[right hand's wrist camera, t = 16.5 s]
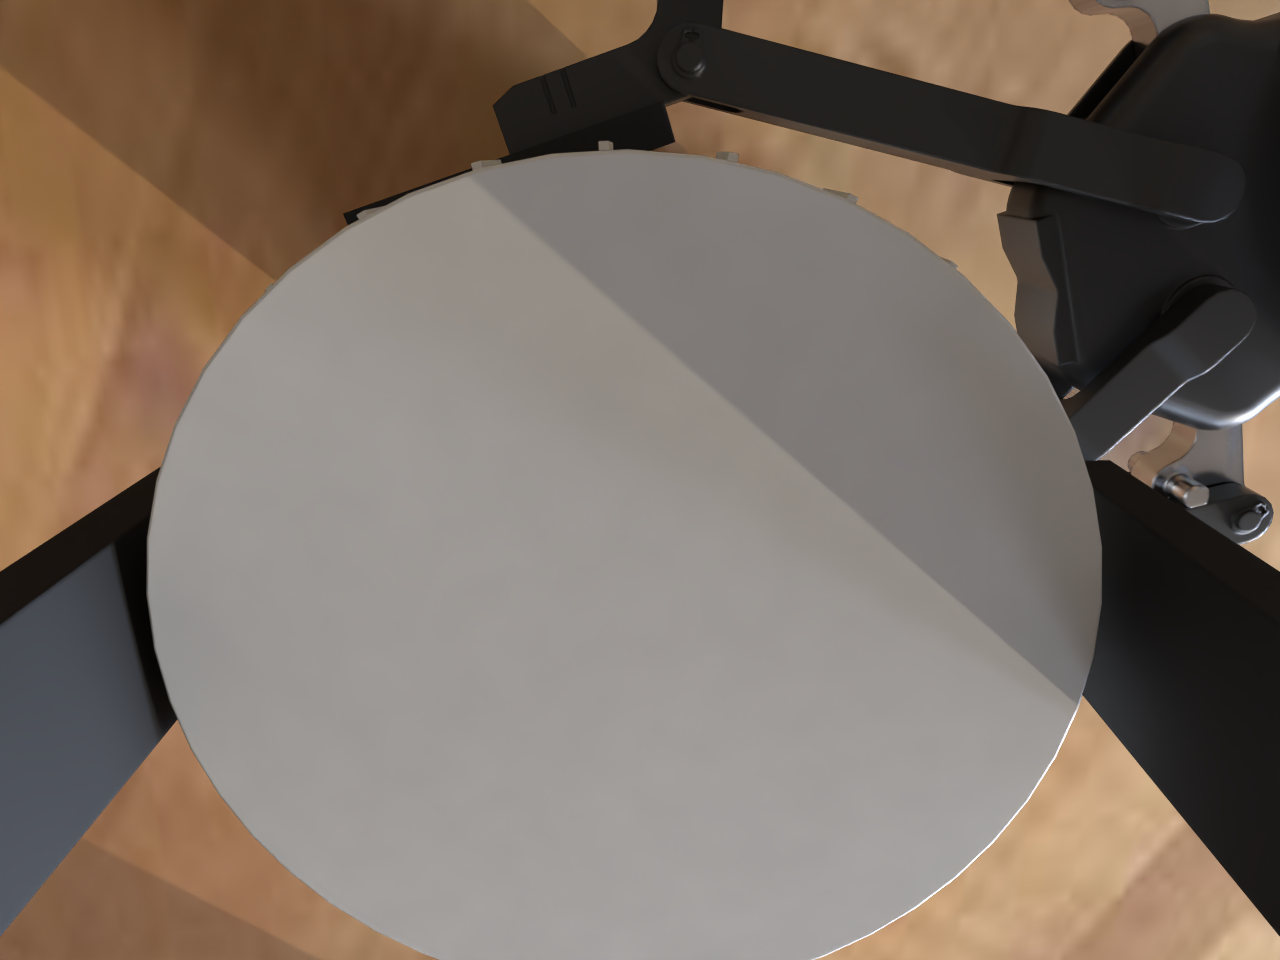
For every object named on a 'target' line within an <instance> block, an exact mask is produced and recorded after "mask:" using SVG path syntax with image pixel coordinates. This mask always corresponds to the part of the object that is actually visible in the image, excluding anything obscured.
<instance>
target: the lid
mask: <svg viewBox="0 0 1280 960" xmlns="http://www.w3.org/2000/svg"><path fill="white" fill-rule="evenodd" d="M598 144H599V151H590V152H573V153H556V154H548V155H543V156H538V157H533V158H528V159H523V160H519V161H514V162H509V163H504V164H502V163H501V160H483V161H477V162H473V163H471V166H472V169H473V171H470V172H467V173H465V174H462V175H459V176H456V177H453V178H451V179H448V180H445V181H442V182H439V183H437V184H434V185H431V186H428V187H425V188H423V189H420V190H417V191H414V192H411V193H409V194H407V195H405V196H403V197H401V198H399V199H397V200H395V201H393V202H392V203H390V204H388V205H386V206H382V207H378V208H373V209H368V210H364V211H362V212H361V213H359V214H357V217H358V219H359V220H358V221H356V222H354V223H352V224H350V225H348V226H346V227H345V228H343V229H342V230H341V231H339V232H338V233H336V234H335V235H334V236H332V237H331V238H330V239H328V240H327V241H326V242H324V243H323V244H321V245H320V246H319V247H317V248H316V249H315V250H313V251H312V252H311V253H309V254H308V255H307V256H305V257H304V258H302V259H301V260H300V261H298V262H297V263H296V264H294V265H293V266H292V267H290V268H289V269H288V270H287V271H286V272H285V273H284V274H283V275H282V276H281V277H280V278H279V279H278V280H277V281H276V282H275V283H272V284H270V285H269V286H268V287H267V288H266V289H265V291H266V292H265V293H264V294H263V295H262V296H261V297H260V298H259V299H258V300H257V301H256V302H255V303H254V304H253V305H252V306H251V307H250V308H249V309H248V310H247V311H246V312H245V313H244V314H243V315H242V316H241V317H240V319H239V320H238V322H237V323H236V324H235V326H234V327H233V328H232V330H231V331H230V333H229V334H228V335H227V337H226V338H225V339H224V341H223V342H222V343H221V345H220V346H219V348H218V349H217V350H216V352H215V353H214V354H213V356H212V357H211V359H210V360H209V361H208V363H207V364H206V365H205V367H204V368H203V370H202V372H201V374H200V376H199V378H198V380H197V382H196V384H195V386H194V388H193V390H192V392H191V394H190V395H189V397H188V399H187V401H186V403H185V405H184V407H183V409H182V411H181V413H180V415H179V417H178V419H177V421H176V423H175V426H174V429H173V432H172V435H171V438H170V441H169V444H168V447H167V450H166V453H165V456H164V459H163V462H162V465H161V468H160V471H159V474H158V477H157V480H156V486H155V492H154V498H153V504H152V511H151V517H150V523H149V529H148V535H147V590H146V595H147V602H148V609H149V616H150V623H151V630H152V637H153V644H154V650H155V654H156V657H157V661H158V664H159V667H160V671H161V674H162V678H163V681H164V684H165V688H166V691H167V695H168V698H169V701H170V704H171V706H172V708H173V710H174V712H175V715H176V717H177V719H178V721H179V723H180V726H181V728H182V730H183V732H184V735H185V737H186V739H187V741H188V743H189V746H190V748H191V750H192V752H193V753H194V755H195V756H196V758H197V760H198V761H199V763H200V765H201V766H202V768H203V769H204V771H205V773H206V774H207V776H208V777H209V779H210V781H211V782H212V784H213V785H214V787H215V789H216V790H217V792H218V793H219V795H220V796H221V798H222V799H223V800H224V801H225V802H226V804H227V805H228V806H229V807H230V809H231V810H232V811H233V812H234V814H235V815H236V816H237V817H238V818H239V820H240V821H241V822H242V823H243V825H244V826H245V827H246V828H247V830H248V831H249V832H250V833H251V835H252V836H253V837H254V838H255V839H256V840H257V841H258V842H259V843H261V844H262V845H263V846H264V847H265V848H266V849H267V850H268V851H269V852H270V853H271V854H272V855H273V856H274V857H275V858H276V859H277V860H278V861H279V862H280V863H281V864H282V865H283V866H284V867H285V868H286V869H287V870H288V871H289V872H291V873H292V874H293V875H294V876H296V877H297V878H298V879H300V880H301V881H302V882H303V883H305V884H306V885H307V886H309V887H310V888H311V889H313V890H314V891H315V892H316V893H318V894H319V895H320V896H322V897H323V898H324V899H326V900H327V901H328V902H329V903H331V904H332V905H334V906H336V907H337V908H339V909H340V910H342V911H344V912H345V913H347V914H349V915H350V916H352V917H353V918H355V919H357V920H358V921H360V922H362V923H363V924H365V925H367V926H368V927H370V928H371V929H373V930H375V931H377V932H379V933H381V934H383V935H385V936H387V937H389V938H391V939H393V940H396V941H398V942H400V943H402V944H404V945H406V946H408V947H410V948H412V949H414V950H417V951H419V952H421V953H423V954H426V955H429V956H432V957H434V958H437V959H440V960H814V959H817V958H820V957H823V956H825V955H828V954H830V953H832V952H834V951H836V950H838V949H841V948H843V947H845V946H847V945H849V944H851V943H854V942H856V941H858V940H860V939H862V938H864V937H867V936H869V935H871V934H873V933H874V932H876V931H878V930H879V929H881V928H883V927H884V926H886V925H888V924H889V923H891V922H893V921H894V920H896V919H898V918H900V917H901V916H903V915H905V914H906V913H908V912H910V911H911V910H913V909H915V908H916V907H918V906H919V905H920V904H921V903H923V902H924V901H925V900H927V899H928V898H929V897H931V896H932V895H933V894H935V893H936V892H937V891H939V890H940V889H941V888H943V887H944V886H945V885H947V884H948V883H949V882H951V881H952V880H953V879H955V878H956V877H957V876H958V875H959V874H960V873H961V872H962V871H964V870H965V869H966V868H967V867H968V866H969V865H970V864H971V863H972V862H973V861H974V860H975V859H976V858H977V857H978V856H979V855H980V854H981V853H982V852H984V851H985V850H986V849H987V848H988V847H989V846H990V845H991V844H992V843H993V842H994V841H995V840H996V839H997V837H998V836H999V835H1000V834H1001V833H1002V831H1003V830H1004V829H1005V828H1006V827H1007V825H1008V824H1009V823H1010V822H1011V821H1012V819H1013V818H1014V817H1015V816H1016V814H1017V813H1018V812H1019V811H1020V810H1021V808H1022V807H1023V806H1024V805H1025V804H1026V802H1027V801H1028V800H1029V798H1030V796H1031V795H1032V793H1033V792H1034V790H1035V789H1036V787H1037V785H1038V784H1039V782H1040V781H1041V779H1042V778H1043V776H1044V774H1045V773H1046V771H1047V770H1048V768H1049V767H1050V765H1051V763H1052V762H1053V760H1054V759H1055V757H1056V755H1057V753H1058V751H1059V749H1060V746H1061V744H1062V742H1063V740H1064V738H1065V736H1066V733H1067V731H1068V729H1069V727H1070V725H1071V723H1072V720H1073V718H1074V716H1075V714H1076V712H1077V710H1078V707H1079V704H1080V700H1081V697H1082V694H1083V690H1084V687H1085V684H1086V681H1087V677H1088V674H1089V671H1090V667H1091V664H1092V661H1093V658H1094V651H1095V645H1096V638H1097V632H1098V625H1099V618H1100V612H1101V605H1102V544H1101V538H1100V531H1099V525H1098V518H1097V511H1096V505H1095V498H1094V492H1093V487H1092V484H1091V481H1090V477H1089V474H1088V471H1087V468H1086V465H1085V462H1084V458H1083V455H1082V452H1081V449H1080V446H1079V443H1078V439H1077V436H1076V433H1075V431H1074V429H1073V427H1072V425H1071V423H1070V420H1069V418H1068V416H1067V414H1066V412H1065V410H1064V408H1063V406H1062V404H1061V402H1060V400H1059V398H1058V396H1057V394H1056V392H1055V390H1054V388H1053V386H1052V384H1051V382H1050V380H1049V378H1048V376H1047V375H1046V373H1045V372H1044V371H1043V369H1042V368H1041V366H1040V365H1039V363H1038V362H1037V361H1036V359H1035V358H1034V356H1033V355H1032V354H1031V352H1030V351H1029V349H1028V348H1027V347H1026V345H1025V344H1024V342H1023V341H1022V339H1021V338H1020V337H1019V335H1018V334H1017V332H1016V331H1015V330H1014V328H1013V327H1012V325H1011V324H1010V323H1009V322H1008V321H1007V320H1006V319H1005V318H1004V317H1003V316H1002V314H1001V313H1000V312H999V311H998V310H997V309H996V308H995V307H994V306H993V305H992V304H991V303H990V302H989V301H988V300H987V299H986V298H985V297H984V296H983V295H982V294H981V293H980V292H979V291H978V290H977V289H976V288H975V287H974V285H973V284H972V283H971V282H970V281H969V280H968V279H967V278H966V277H965V276H964V275H963V274H961V273H960V272H959V271H957V270H956V269H957V268H958V266H957V265H956V264H955V263H953V262H952V261H950V260H947V259H944V258H942V257H939V256H938V255H937V254H935V253H934V252H933V251H931V250H930V249H929V248H927V247H926V246H925V245H923V244H922V243H921V242H920V241H918V240H917V239H916V238H914V237H913V236H912V235H910V234H909V233H907V232H906V231H904V230H902V229H900V228H898V227H897V226H895V225H893V224H891V223H889V222H888V221H886V220H884V219H882V218H880V217H879V216H877V215H875V214H873V213H871V212H870V211H868V210H866V209H864V208H863V207H861V206H859V205H857V204H856V202H857V200H858V197H856V196H854V195H852V194H850V193H845V192H840V191H835V190H830V189H825V188H823V189H820V188H818V187H815V186H812V185H810V184H807V183H804V182H802V181H799V180H797V179H794V178H791V177H789V176H786V175H783V174H781V173H778V172H775V171H770V170H766V169H761V168H757V167H753V166H748V165H744V164H739V163H737V161H738V156H739V154H737V153H733V152H717V155H716V158H713V157H708V156H704V155H692V154H680V153H667V152H655V151H643V150H631V149H624V150H613V143H612V142H610V141H599V142H598Z"/></svg>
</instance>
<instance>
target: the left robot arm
mask: <svg viewBox="0 0 1280 960" xmlns="http://www.w3.org/2000/svg"><path fill="white" fill-rule="evenodd" d="M1069 2H1070V3H1071V5H1072V6H1073V7H1074V9H1075V10H1077V11H1078V12H1080V13H1081V14H1085V15H1101V14H1111V15H1115V16H1117V17H1119V18H1120V19H1122V20H1123V21H1124V22H1125V23H1126V24H1127V26H1128V27H1129V29H1130V32H1131V36H1132V40H1131V41H1130V42H1129V43H1127V44H1126V45H1125V46H1124V47H1123V49H1122V50H1121V51H1120V52H1119V53H1118V54H1117V56H1116V57H1115V58H1114V59H1113V60H1112V62H1111V63H1110V64H1109V65H1108V66H1107V68H1106V69H1105V70H1104V71H1103V72H1102V74H1101V75H1100V76H1099V77H1098V78H1097V80H1096V81H1095V82H1094V83H1093V84H1092V86H1091V87H1090V88H1089V89H1088V91H1087V92H1086V93H1085V94H1084V95H1083V97H1082V98H1081V99H1080V100H1079V101H1078V103H1077V104H1076V105H1075V106H1074V107H1073V109H1072V110H1071V111H1070V112H1069V113H1068V115H1065V114H1061V113H1057V112H1053V111H1049V110H1044V109H1038V108H1031V107H1022V106H1016V105H1011V104H1007V103H1003V102H999V101H995V100H992V99H988V98H984V97H980V96H976V95H973V94H969V93H965V92H961V91H957V90H954V89H950V88H946V87H942V86H938V85H935V84H931V83H927V82H923V81H919V80H916V79H912V78H908V77H904V76H900V75H897V74H893V73H889V72H885V71H882V70H878V69H874V68H870V67H866V66H863V65H859V64H855V63H851V62H847V61H844V60H840V59H836V58H832V57H828V56H825V55H821V54H817V53H813V52H809V51H806V50H802V49H798V48H794V47H790V46H787V45H783V44H779V43H775V42H772V41H768V40H764V39H760V38H756V37H753V36H749V35H745V34H741V33H737V32H734V31H730V30H726V29H722V28H721V27H722V11H723V0H657V12H656V15H655V17H654V20H653V22H652V24H651V25H650V27H649V28H648V30H647V31H646V32H645V33H644V34H643V35H642V36H641V37H640V38H639V39H638V40H636V41H634V42H632V43H630V44H628V45H625V46H622V47H619V48H617V49H614V50H611V51H608V52H606V53H603V54H600V55H597V56H594V57H592V58H589V59H586V60H583V61H581V62H578V63H575V64H572V65H570V66H567V67H564V68H562V69H559V70H556V71H553V72H550V73H548V74H545V75H543V76H539V77H536V78H534V79H531V80H528V81H525V82H523V83H520V84H517V85H514V86H513V87H512V88H511V89H509V90H508V91H507V92H506V93H505V94H504V95H503V96H502V97H501V98H500V99H499V100H498V101H497V102H496V103H495V104H494V105H493V108H494V111H495V114H496V116H497V119H498V122H499V125H500V128H501V131H502V133H503V136H504V139H505V142H506V145H507V148H508V150H509V153H510V155H508V156H505V157H502V158H499V159H496V160H501V163H502V164H504V163H509V162H514V161H519V160H523V159H528V158H533V157H538V156H543V155H548V154H556V153H573V152H590V151H599V144H598V142H599V141H610V142H612V143H613V150H624V149H631V150H643V151H651V150H653V149H656V148H659V147H662V146H665V145H668V144H671V143H674V142H675V139H674V135H673V132H672V129H671V125H670V122H669V118H668V115H667V111H666V108H665V107H667V106H669V105H672V104H675V103H678V102H681V101H683V102H687V103H691V104H695V105H699V106H702V107H706V108H710V109H714V110H718V111H722V112H726V113H730V114H734V115H738V116H742V117H745V118H749V119H753V120H757V121H761V122H765V123H769V124H773V125H777V126H781V127H785V128H789V129H792V130H796V131H800V132H804V133H808V134H812V135H816V136H820V137H824V138H828V139H832V140H835V141H839V142H843V143H847V144H851V145H855V146H859V147H863V148H867V149H871V150H875V151H878V152H882V153H886V154H890V155H894V156H898V157H902V158H906V159H910V160H914V161H918V162H922V163H925V164H929V165H933V166H937V167H941V168H945V169H948V170H951V171H953V172H956V173H959V174H963V175H967V176H970V177H974V178H978V179H982V180H986V181H990V182H994V183H998V184H1002V185H1006V186H1010V187H1012V189H1011V192H1010V195H1009V198H1008V203H1007V209H1006V211H1005V212H1002V213H999V214H997V217H998V223H999V229H1000V235H1001V241H1002V246H1003V249H1004V252H1005V254H1006V256H1007V258H1008V260H1009V262H1010V264H1011V266H1012V268H1013V270H1014V272H1015V274H1016V276H1017V280H1018V284H1017V294H1016V304H1015V314H1014V316H1015V322H1016V328H1017V334H1018V335H1019V337H1020V338H1021V339H1022V341H1023V342H1024V344H1025V345H1026V347H1027V348H1028V349H1029V351H1030V352H1031V354H1032V355H1033V356H1034V358H1035V359H1036V361H1037V362H1038V363H1039V365H1040V366H1041V368H1042V369H1043V371H1044V372H1045V373H1046V375H1047V376H1048V378H1049V380H1050V382H1051V384H1052V386H1053V388H1054V390H1055V392H1056V394H1057V396H1058V398H1059V400H1060V402H1061V404H1062V406H1063V408H1064V410H1065V412H1066V414H1067V416H1068V418H1069V420H1070V423H1071V425H1072V427H1073V429H1074V431H1075V433H1076V436H1077V439H1078V443H1079V446H1080V449H1081V452H1082V455H1083V458H1084V460H1099V459H1100V458H1101V457H1103V456H1104V455H1106V454H1107V453H1108V452H1109V451H1110V450H1111V449H1112V448H1113V447H1114V446H1116V445H1117V444H1118V443H1119V442H1120V441H1121V440H1122V439H1123V438H1124V437H1126V436H1127V435H1128V434H1129V433H1130V432H1131V431H1132V430H1133V429H1135V428H1136V427H1137V426H1138V425H1139V424H1140V423H1141V422H1142V421H1143V420H1145V419H1146V418H1147V417H1148V416H1149V415H1150V414H1153V415H1156V416H1159V417H1162V418H1165V419H1168V420H1171V421H1173V428H1172V430H1171V433H1170V435H1169V436H1168V438H1167V439H1166V440H1165V442H1163V443H1162V444H1161V445H1160V446H1159V447H1157V448H1155V449H1153V450H1151V451H1149V452H1145V451H1140V452H1136V453H1135V454H1133V455H1132V456H1131V457H1130V459H1129V461H1128V468H1129V470H1130V471H1131V472H1128V473H1130V474H1131V475H1133V476H1134V477H1136V478H1137V479H1139V480H1140V481H1142V482H1143V483H1145V484H1147V485H1148V486H1150V487H1151V488H1153V489H1154V490H1156V491H1157V492H1159V493H1160V494H1162V495H1163V496H1165V497H1166V498H1168V499H1169V500H1171V501H1172V502H1174V503H1176V504H1177V505H1179V506H1180V507H1182V508H1183V509H1185V510H1186V511H1188V512H1189V513H1191V514H1192V515H1194V516H1195V517H1197V518H1198V519H1200V520H1202V521H1203V522H1205V523H1206V524H1208V525H1209V526H1211V527H1212V528H1214V529H1215V530H1217V531H1218V532H1220V533H1221V534H1223V535H1224V536H1226V537H1227V538H1229V539H1231V540H1232V541H1234V542H1235V543H1237V544H1238V545H1240V544H1245V543H1248V542H1250V541H1253V540H1255V539H1257V538H1259V537H1260V536H1261V535H1262V534H1263V533H1265V532H1266V530H1267V529H1268V527H1269V526H1270V524H1271V523H1272V518H1273V513H1274V512H1273V509H1272V505H1271V503H1270V502H1269V501H1268V500H1267V499H1266V498H1265V497H1263V496H1261V495H1259V494H1258V493H1256V492H1254V491H1252V490H1250V489H1249V488H1247V487H1245V485H1244V471H1243V439H1242V424H1243V423H1245V422H1247V421H1249V420H1250V419H1252V418H1253V417H1255V416H1256V415H1257V414H1259V413H1260V412H1261V411H1262V410H1263V409H1264V408H1266V407H1267V406H1268V405H1269V404H1271V403H1272V402H1273V401H1275V400H1276V399H1277V398H1279V397H1280V12H1279V13H1276V14H1273V15H1270V16H1267V17H1264V18H1261V19H1258V20H1254V21H1250V20H1239V19H1234V18H1231V17H1227V16H1224V15H1218V14H1210V11H1209V3H1208V0H1069ZM470 171H473V169H472V168H471V169H468V170H465V171H462V172H460V173H457V174H454V175H451V176H448V177H445V178H443V179H440V180H437V181H434V182H431V183H428V184H426V185H423V186H420V187H417V188H414V189H411V190H409V191H406V192H403V193H400V194H397V195H394V196H392V197H389V198H386V199H383V200H380V201H377V202H375V203H372V204H369V205H366V206H363V207H360V208H358V209H355V210H352V211H349V212H346V213H343V215H344V217H345V219H346V222H347V224H348V225H350V224H352V223H354V222H356V221H358V220H359V219H358V217H357V214H359V213H361V212H362V211H364V210H368V209H373V208H378V207H382V206H386V205H388V204H390V203H392V202H393V201H395V200H397V199H399V198H401V197H403V196H405V195H407V194H409V193H411V192H414V191H417V190H420V189H423V188H425V187H428V186H431V185H434V184H437V183H439V182H442V181H445V180H448V179H451V178H453V177H456V176H459V175H462V174H465V173H467V172H470ZM1074 387H1075V388H1076V389H1079V390H1081V391H1080V392H1078V393H1077V394H1076V395H1074V396H1073V397H1071V398H1068V399H1063V398H1064V397H1065V396H1066V395H1067V394H1068V393H1069V392H1070V391H1071V390H1072V389H1073V388H1074Z"/></svg>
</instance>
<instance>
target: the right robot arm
mask: <svg viewBox="0 0 1280 960" xmlns="http://www.w3.org/2000/svg"><path fill="white" fill-rule="evenodd" d="M1084 462H1085V465H1086V468H1087V471H1088V474H1089V477H1090V481H1091V484H1092V487H1093V492H1094V498H1095V505H1096V511H1097V518H1098V525H1099V531H1100V538H1101V544H1102V605H1101V612H1100V618H1099V625H1098V632H1097V638H1096V645H1095V651H1094V658H1093V661H1092V664H1091V667H1090V671H1089V674H1088V677H1087V681H1086V684H1085V687H1084V690H1083V694H1082V695H1083V696H1084V697H1085V698H1086V700H1087V701H1088V702H1089V703H1090V705H1091V706H1092V707H1093V708H1094V709H1095V711H1096V712H1097V713H1098V714H1099V716H1100V717H1101V718H1102V719H1103V720H1104V722H1105V723H1106V724H1107V725H1108V727H1109V728H1110V729H1111V730H1112V731H1113V733H1114V734H1115V735H1116V736H1117V738H1118V739H1119V740H1120V741H1121V743H1122V744H1123V745H1124V746H1125V747H1126V749H1127V750H1128V751H1129V752H1130V754H1131V755H1132V756H1133V757H1134V758H1135V760H1136V761H1137V762H1138V763H1139V765H1140V766H1141V767H1142V768H1143V769H1144V771H1145V772H1146V773H1147V774H1148V776H1149V777H1150V778H1151V779H1152V780H1153V782H1154V783H1155V784H1156V785H1157V787H1158V788H1159V789H1160V790H1161V792H1162V793H1163V794H1164V795H1165V796H1166V798H1167V799H1168V800H1169V801H1170V803H1171V804H1172V805H1173V806H1174V807H1175V809H1176V810H1177V811H1178V812H1179V814H1180V815H1181V816H1182V817H1183V818H1184V820H1185V821H1186V822H1187V823H1188V825H1189V826H1190V827H1191V828H1192V829H1193V831H1194V832H1195V833H1196V834H1197V836H1198V837H1199V838H1200V839H1201V841H1202V842H1203V843H1204V844H1205V845H1206V847H1207V848H1208V849H1209V850H1210V852H1211V853H1212V854H1213V855H1214V856H1215V858H1216V859H1217V860H1218V861H1219V863H1220V864H1221V865H1222V866H1223V867H1224V869H1225V870H1226V871H1227V872H1228V874H1229V875H1230V876H1231V877H1232V878H1233V880H1234V881H1235V882H1236V883H1237V885H1238V886H1239V887H1240V888H1241V890H1242V891H1243V892H1244V893H1245V894H1246V896H1247V897H1248V898H1249V899H1250V901H1251V902H1252V903H1253V904H1254V905H1255V907H1256V908H1257V909H1258V910H1259V912H1260V913H1261V914H1262V915H1263V916H1264V918H1265V919H1266V920H1267V921H1268V923H1269V924H1270V925H1271V926H1272V927H1273V929H1274V930H1275V931H1276V932H1277V934H1278V935H1279V936H1280V572H1279V571H1278V570H1276V569H1275V568H1273V567H1272V566H1270V565H1269V564H1267V563H1266V562H1264V561H1263V560H1261V559H1260V558H1258V557H1256V556H1255V555H1253V554H1252V553H1250V552H1249V551H1247V550H1246V549H1244V548H1243V547H1241V546H1240V545H1238V544H1237V543H1235V542H1234V541H1232V540H1231V539H1229V538H1227V537H1226V536H1224V535H1223V534H1221V533H1220V532H1218V531H1217V530H1215V529H1214V528H1212V527H1211V526H1209V525H1208V524H1206V523H1205V522H1203V521H1202V520H1200V519H1198V518H1197V517H1195V516H1194V515H1192V514H1191V513H1189V512H1188V511H1186V510H1185V509H1183V508H1182V507H1180V506H1179V505H1177V504H1176V503H1174V502H1172V501H1171V500H1169V499H1168V498H1166V497H1165V496H1163V495H1162V494H1160V493H1159V492H1157V491H1156V490H1154V489H1153V488H1151V487H1150V486H1148V485H1147V484H1145V483H1143V482H1142V481H1140V480H1139V479H1137V478H1136V477H1134V476H1133V475H1131V474H1130V473H1128V472H1127V471H1125V470H1124V469H1122V468H1121V467H1119V466H1118V465H1116V464H1114V463H1113V462H1111V461H1110V460H1084ZM160 468H161V467H159V468H158V469H156V470H155V471H153V472H152V473H150V474H149V475H147V476H146V477H144V478H143V479H141V480H140V481H138V482H137V483H135V484H133V485H132V486H130V487H129V488H127V489H126V490H124V491H123V492H121V493H120V494H118V495H117V496H115V497H114V498H112V499H111V500H109V501H108V502H106V503H104V504H103V505H101V506H100V507H98V508H97V509H95V510H94V511H92V512H91V513H89V514H88V515H86V516H85V517H83V518H82V519H80V520H79V521H77V522H75V523H74V524H72V525H71V526H69V527H68V528H66V529H65V530H63V531H62V532H60V533H59V534H57V535H56V536H54V537H53V538H51V539H49V540H48V541H46V542H45V543H43V544H42V545H40V546H39V547H37V548H36V549H34V550H33V551H31V552H30V553H28V554H27V555H25V556H24V557H22V558H20V559H19V560H17V561H16V562H14V563H13V564H11V565H10V566H8V567H7V568H5V569H4V570H2V571H1V572H0V936H1V935H2V934H3V932H4V931H5V930H6V929H7V927H8V926H9V925H10V924H11V923H12V921H13V920H14V919H15V918H16V916H17V915H18V914H19V913H20V912H21V910H22V909H23V908H24V907H25V905H26V904H27V903H28V902H29V901H30V899H31V898H32V897H33V896H34V894H35V893H36V892H37V891H38V890H39V888H40V887H41V886H42V885H43V883H44V882H45V881H46V880H47V878H48V877H49V876H50V875H51V874H52V872H53V871H54V870H55V869H56V867H57V866H58V865H59V864H60V863H61V861H62V860H63V859H64V858H65V856H66V855H67V854H68V853H69V852H70V850H71V849H72V848H73V847H74V845H75V844H76V843H77V842H78V841H79V839H80V838H81V837H82V836H83V834H84V833H85V832H86V831H87V830H88V828H89V827H90V826H91V825H92V823H93V822H94V821H95V820H96V818H97V817H98V816H99V815H100V814H101V812H102V811H103V810H104V809H105V807H106V806H107V805H108V804H109V803H110V801H111V800H112V799H113V798H114V796H115V795H116V794H117V793H118V792H119V790H120V789H121V788H122V787H123V785H124V784H125V783H126V782H127V781H128V779H129V778H130V777H131V776H132V774H133V773H134V772H135V771H136V769H137V768H138V767H139V766H140V765H141V763H142V762H143V761H144V760H145V758H146V757H147V756H148V755H149V754H150V752H151V751H152V750H153V749H154V747H155V746H156V745H157V744H158V743H159V741H160V740H161V739H162V738H163V736H164V735H165V734H166V733H167V732H168V730H169V729H170V728H171V727H172V725H173V724H174V723H175V722H176V720H177V717H176V715H175V712H174V710H173V708H172V706H171V704H170V701H169V698H168V695H167V691H166V688H165V684H164V681H163V678H162V674H161V671H160V667H159V664H158V661H157V657H156V654H155V650H154V644H153V637H152V630H151V623H150V616H149V609H148V602H147V595H146V590H147V535H148V529H149V523H150V517H151V511H152V504H153V498H154V492H155V486H156V480H157V477H158V474H159V471H160Z"/></svg>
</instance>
